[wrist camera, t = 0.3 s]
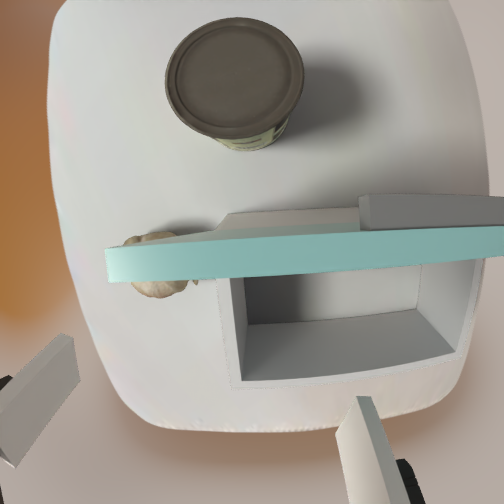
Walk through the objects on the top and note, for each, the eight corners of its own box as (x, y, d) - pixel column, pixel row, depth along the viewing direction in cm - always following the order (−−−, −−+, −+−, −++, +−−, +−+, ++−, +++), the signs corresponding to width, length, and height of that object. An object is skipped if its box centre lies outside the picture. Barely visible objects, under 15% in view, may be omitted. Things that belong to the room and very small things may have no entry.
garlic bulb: (143, 248, 39) (89, 259, 30) (179, 207, 36) (122, 209, 27) (181, 303, 38) (130, 329, 29) (223, 266, 35) (173, 287, 26)
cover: (210, 243, 24) (208, 218, 24) (487, 228, 22) (486, 208, 22) (108, 282, 8) (102, 214, 8) (612, 240, 6) (611, 208, 6)
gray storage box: (228, 214, 35) (210, 235, 24) (432, 205, 34) (486, 222, 22) (239, 332, 40) (231, 389, 28) (421, 315, 38) (460, 358, 27)
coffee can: (256, 56, 30) (252, -3, 16) (306, 121, 32) (332, 92, 18) (186, 102, 32) (141, 66, 18) (233, 168, 34) (212, 167, 20)
